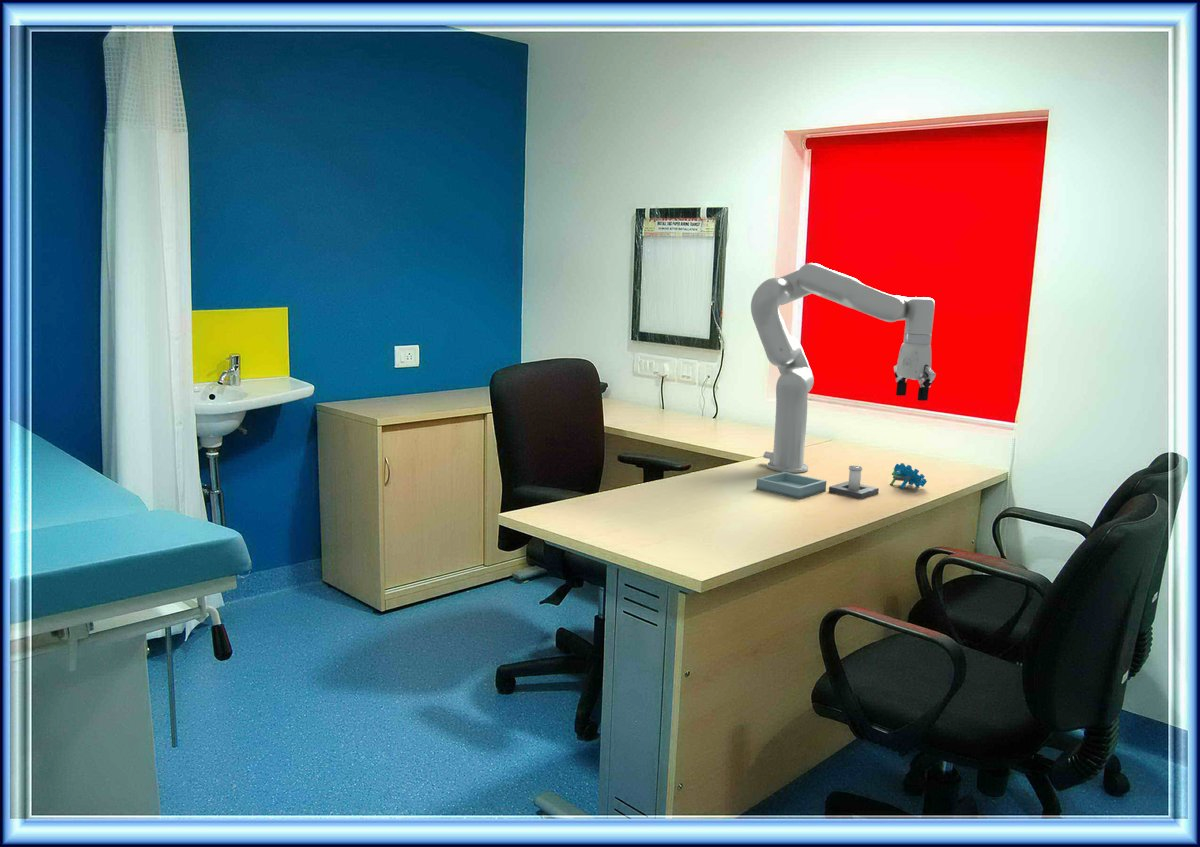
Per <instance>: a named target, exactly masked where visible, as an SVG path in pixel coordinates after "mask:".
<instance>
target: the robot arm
mask: <svg viewBox="0 0 1200 847" xmlns="http://www.w3.org/2000/svg"><path fill="white" fill-rule="evenodd" d="M811 294H813V295H816V296H818V297H820V298H823V299H826V300H829V301H832V302H835V303H837V304H839V305H841V306H844V307H847V308H849V309H853V310H856V311H858V312H861V313H863V314H866V315H868V316H871V317H873V318H876V319H878V320H881V321H884V322H888V323H894V322H897V321H905V326H904V334H903V343H902V344H901V346H900V349H899V353H898V358H897V364H896V365H894V366H893V371H894V377H895V382H896V388H895V389H896V390H895V395H896V396H899V397H901V396H902V397H903V396H905V397H906V395H907V386H908V382H907V380H908V379H909V380H913V381H916V380H917V381H918V384H919V385H920V386H918V391H917V399H916V400H917V401H919V402H927V401H928V399H929V391H930V388H931V386H932V384H933V383H934V380H935V378H936V375H937V373H936V372H934V370H933V369H932V345H931V344H932V333H933V324H934V318H935V317H934V315H935V305H936V304H935V300H934V299H933V298H931V297H917V296H915V297H907V296H901V295H897V294H896V295H893V294H889V293H886V292H884V291H881V290H878V289H876V288H873V287H871V286H869V285H866V284H864V283H862V282H861V281H860V280H858V279H857V278H855V277H852V276H849V275H847V274H845V273H841V272H838V271H836V270H832V269H829V268H828V267H825V266H823V265H821V264H819V263H816V262H815V263H813V262H809V263H808V262H807V263H805V264H803V265H802V266H801V267H800V268H799V269H798V270H796V271H793V272H791V273H789V274H786V275H783V276H780V277H772V278H768V279H766V280H764V281H763V282H762V283H761V284H759V286H758V287H757V288H756V289H755V291H754V293H753V295H752V297H751V301H750V313H751V316H752V317H751V318H752V320H753V322H754V326H755V328H756V331H757V333H758V336H759V340H760V342H761V344H762V347H763V349H764V352H765V356H766V357H767V359H768V361H769V362H770V364H771V365H773V366H775V367H776V368H777V369H778V372H779V374H780V375H779V377H778V378H777V380H776V381H777V382H776V385H775V386H776V387H775V395H776V396H775V399H776V402H775V407H776V408H775V423H774V439H773V451H772V452H771V451H768V450H767V451H765V452H764V453H763V456H762V457H763V459H769V462H767V465H766V466H767V468H768V469H770V470H772V471H776V472H779V473H782V472H787V473H792V474H798V473H804V472H807V471H808V470H809V466H808V464H805V463H804V462H805V461H804V459H805V446H806V434H807V433H806V432H807V422H808V421H807V419H808V394H809V393H810V391H811V390H812V389H813V386H814V383H815V381H814V380H815V377H814V375H813V371H812V369H811V367H810V365H809V361H808V359H807V357H806V355H805V352H804V349H803V347H802V344H801V343H800V341H799V340H798V339H797V338H796V337H795V336H793V335H790V334H789V331H788V329H787V327H786V324H785V321H784V319H783V317H782V315H781V312H780V308H779V307H780V306H783V305H787V304H789V303H792V302H795V301H797V300H798V299H801V298H803V297H806V296H808V295H809V296H810V295H811Z"/></svg>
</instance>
